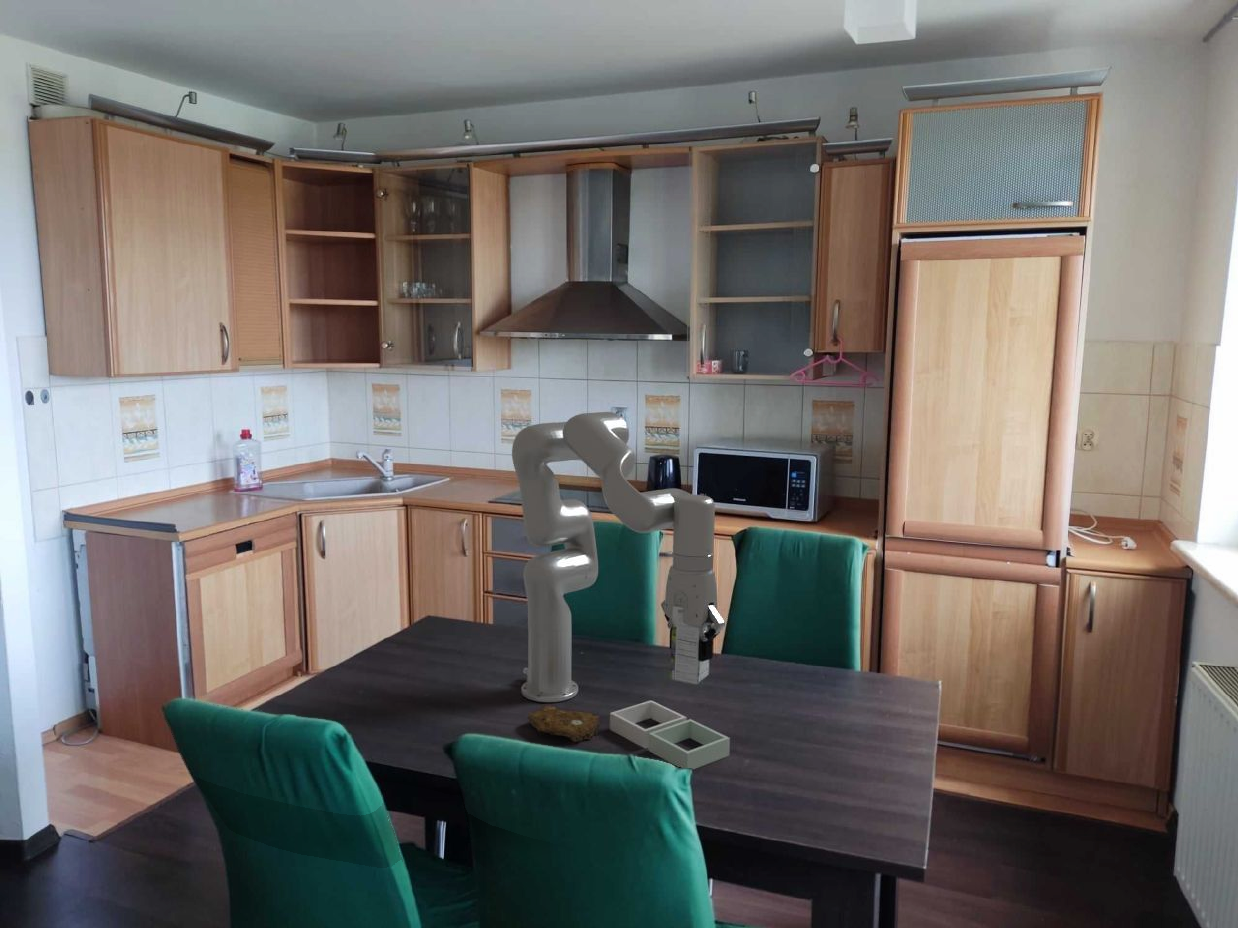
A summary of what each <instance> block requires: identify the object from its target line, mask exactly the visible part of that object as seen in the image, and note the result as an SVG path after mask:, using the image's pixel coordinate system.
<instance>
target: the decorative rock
mask: <svg viewBox="0 0 1238 928" xmlns="http://www.w3.org/2000/svg"><path fill="white" fill-rule="evenodd" d="M527 719H528V720H529V721H530V724H531V726H532V727H533V728H534V729H536V730H537V731H538V732H543V733H545V734H550V735H551V736H563V737H566V738H568V739H569V740H571V741H572V742H574V743H575V742H577V741H580V742H582V741H583V740H584V739H586V738H587V739H586V740H588V739H593V738H594V739H595V736H597V731H598V728H599V727H600V721H599V719H600V715H593V714H592V713H590V712H582V711H577V710H568V709H567V710H566V709H563V710H562V709H559V708H556V707H554V706H549V705H546V706H543V707H541V708H540V709H539V710H533V711H531V712H529V714H528V717H527ZM594 739H593V740H594ZM584 741H585V740H584ZM577 743H578V742H577Z"/></svg>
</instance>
